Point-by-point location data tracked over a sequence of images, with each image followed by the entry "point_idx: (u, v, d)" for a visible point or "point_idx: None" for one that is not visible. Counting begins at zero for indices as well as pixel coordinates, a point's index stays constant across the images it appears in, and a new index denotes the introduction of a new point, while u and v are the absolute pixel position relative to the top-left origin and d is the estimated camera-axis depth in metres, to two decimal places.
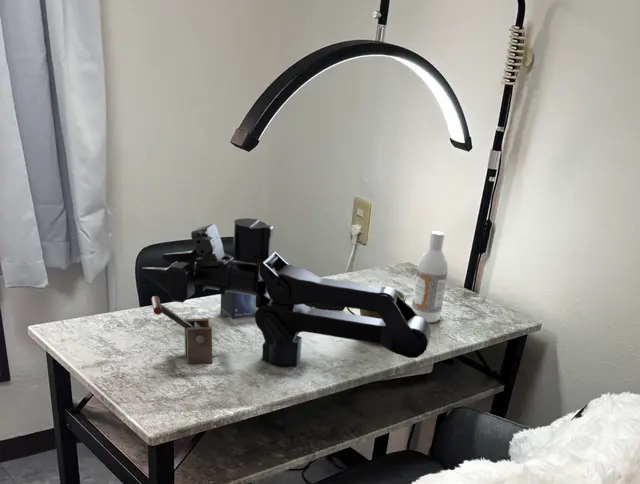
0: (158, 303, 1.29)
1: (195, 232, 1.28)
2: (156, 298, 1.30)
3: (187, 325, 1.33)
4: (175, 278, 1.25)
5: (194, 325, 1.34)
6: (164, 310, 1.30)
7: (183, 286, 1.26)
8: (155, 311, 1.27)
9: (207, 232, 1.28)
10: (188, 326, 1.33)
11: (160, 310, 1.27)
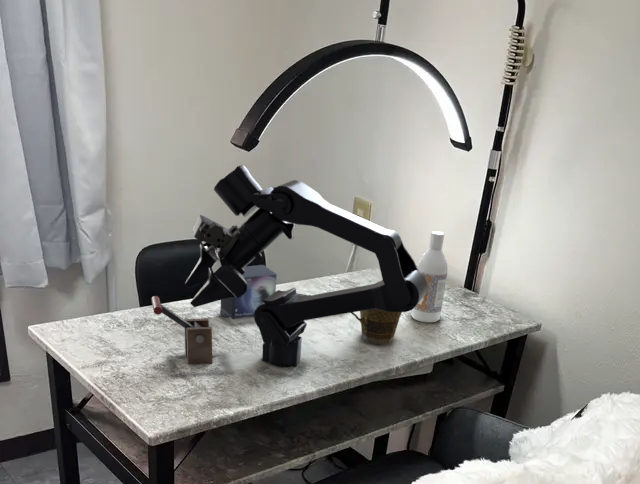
0: (158, 303, 1.29)
1: (197, 233, 1.23)
2: (156, 298, 1.30)
3: (187, 325, 1.33)
4: (225, 278, 1.22)
5: (194, 325, 1.34)
6: (164, 310, 1.30)
7: (236, 277, 1.22)
8: (155, 311, 1.27)
9: (205, 223, 1.23)
10: (188, 326, 1.33)
11: (160, 310, 1.27)
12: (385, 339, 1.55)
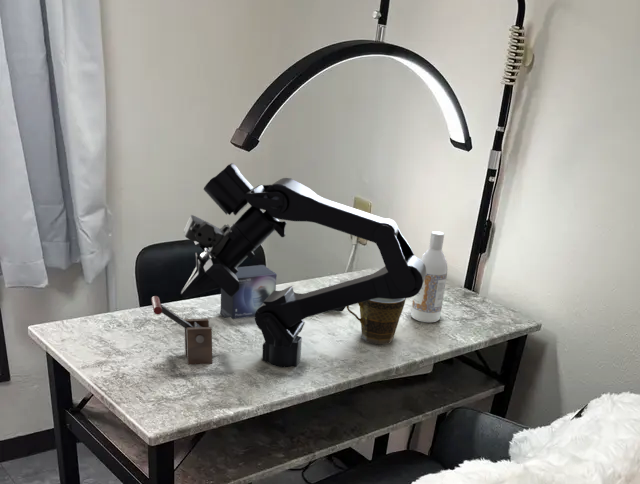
0: (158, 303, 1.29)
1: (188, 233, 1.23)
2: (156, 298, 1.30)
3: (187, 325, 1.33)
4: (217, 276, 1.21)
5: (194, 325, 1.34)
6: (164, 310, 1.30)
7: (228, 276, 1.22)
8: (155, 311, 1.27)
9: (196, 222, 1.22)
10: (188, 326, 1.33)
11: (160, 310, 1.27)
12: (385, 339, 1.55)
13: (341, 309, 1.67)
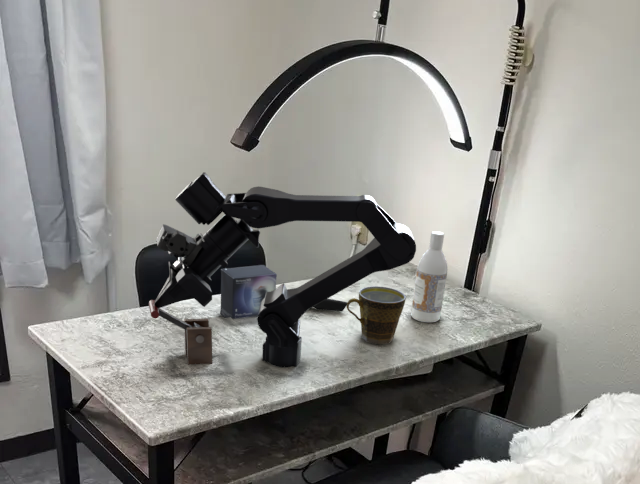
0: (155, 307, 1.29)
1: (160, 242, 1.22)
2: (153, 301, 1.31)
3: (186, 326, 1.33)
4: (189, 286, 1.20)
5: (193, 325, 1.34)
6: (162, 313, 1.30)
7: (200, 286, 1.21)
8: (152, 315, 1.28)
9: (168, 232, 1.22)
10: (187, 327, 1.33)
11: (157, 314, 1.28)
12: (385, 339, 1.55)
13: (341, 309, 1.67)
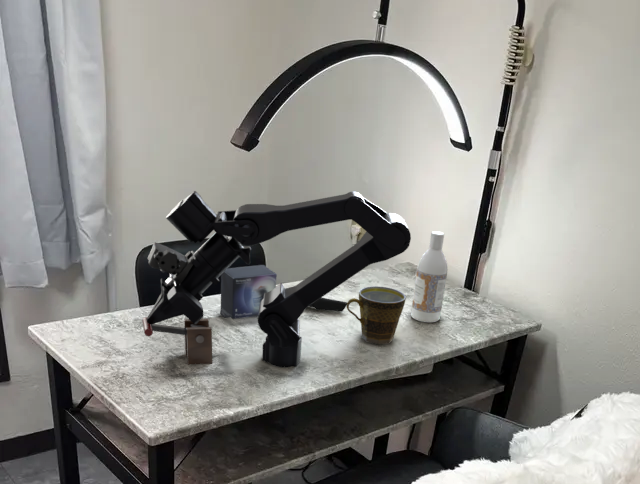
0: (147, 324, 1.30)
1: (151, 261, 1.23)
2: (145, 319, 1.32)
3: (184, 331, 1.33)
4: (180, 304, 1.21)
5: None
6: (156, 327, 1.31)
7: (191, 303, 1.22)
8: (146, 334, 1.29)
9: (159, 250, 1.23)
10: (185, 331, 1.33)
11: (150, 331, 1.29)
12: (385, 339, 1.55)
13: (341, 309, 1.67)
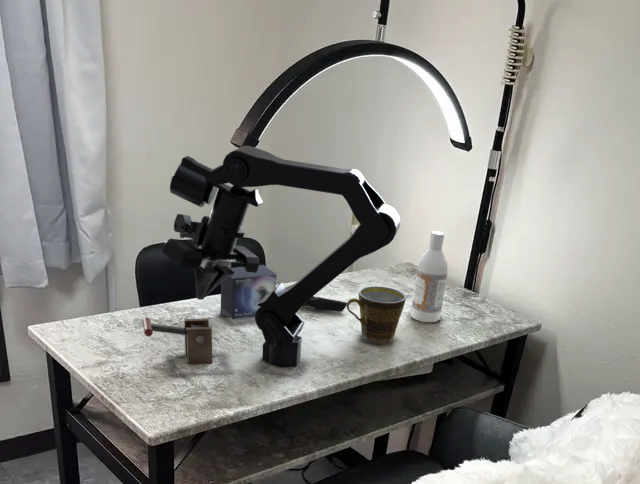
0: (147, 324, 1.30)
1: (180, 232, 1.32)
2: (145, 319, 1.32)
3: (184, 331, 1.33)
4: (167, 250, 1.24)
5: None
6: (156, 327, 1.31)
7: (175, 246, 1.23)
8: (146, 334, 1.29)
9: None
10: (185, 331, 1.33)
11: (150, 331, 1.29)
12: (385, 339, 1.55)
13: (340, 309, 1.67)
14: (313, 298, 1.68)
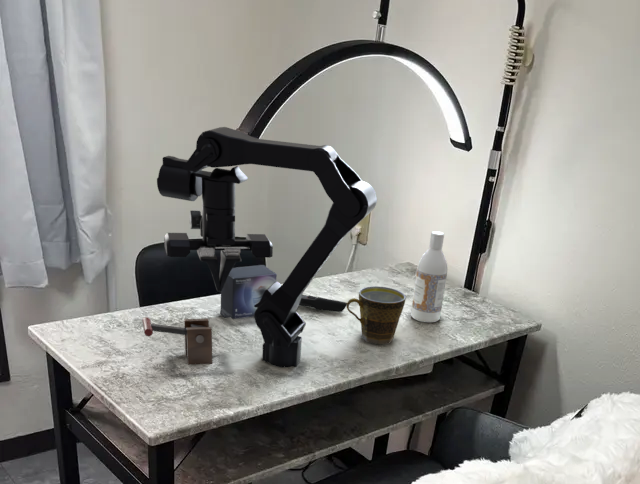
0: (147, 324, 1.30)
1: None
2: (145, 319, 1.32)
3: (184, 331, 1.33)
4: None
5: None
6: (156, 327, 1.31)
7: (166, 238, 1.28)
8: (146, 334, 1.29)
9: None
10: (185, 331, 1.33)
11: (150, 331, 1.29)
12: (385, 339, 1.55)
13: (340, 310, 1.67)
14: (313, 298, 1.68)
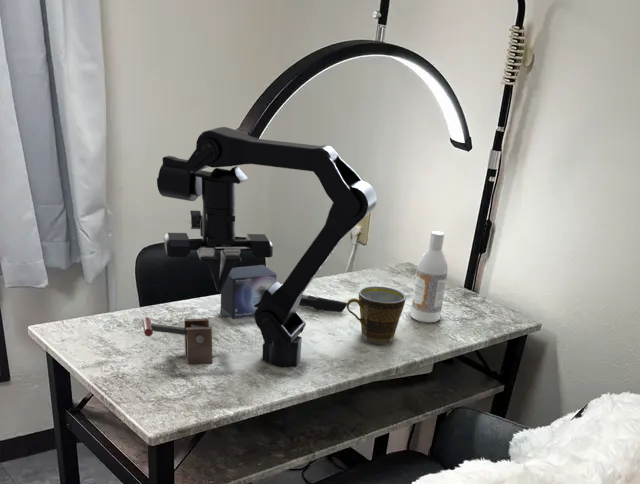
0: (147, 324, 1.30)
1: None
2: (145, 319, 1.32)
3: (184, 331, 1.33)
4: None
5: None
6: (156, 327, 1.31)
7: (166, 238, 1.28)
8: (146, 334, 1.29)
9: None
10: (185, 331, 1.33)
11: (150, 331, 1.29)
12: (385, 339, 1.55)
13: (340, 310, 1.67)
14: (313, 298, 1.68)
